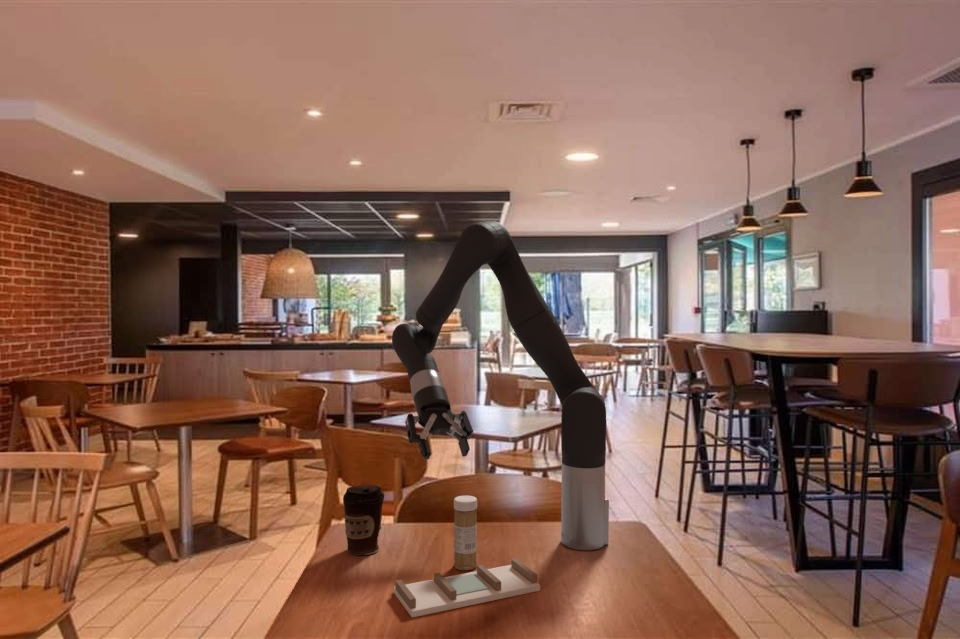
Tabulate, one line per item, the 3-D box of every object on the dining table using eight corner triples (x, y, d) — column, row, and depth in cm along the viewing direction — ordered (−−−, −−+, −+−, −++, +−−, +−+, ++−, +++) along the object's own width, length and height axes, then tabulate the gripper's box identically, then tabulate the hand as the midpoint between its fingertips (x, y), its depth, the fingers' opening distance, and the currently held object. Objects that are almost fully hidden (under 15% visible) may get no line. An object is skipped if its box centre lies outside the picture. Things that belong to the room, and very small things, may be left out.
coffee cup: (374, 560, 126) (374, 495, 126) (335, 557, 128) (335, 493, 128) (389, 544, 135) (389, 483, 134) (352, 541, 136) (352, 481, 136)
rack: (513, 569, 122) (513, 556, 122) (539, 590, 113) (539, 576, 113) (393, 592, 112) (393, 578, 112) (412, 617, 103) (412, 602, 103)
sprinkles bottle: (474, 561, 126) (474, 493, 126) (479, 570, 122) (479, 500, 122) (451, 563, 125) (451, 495, 125) (455, 572, 121) (456, 502, 121)
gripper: (403, 385, 138) (419, 448, 128) (463, 383, 144) (483, 443, 134) (395, 405, 143) (410, 468, 133) (453, 402, 149) (472, 462, 139)
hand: (447, 456), depth 134 cm, fingers open, 8 cm apart
